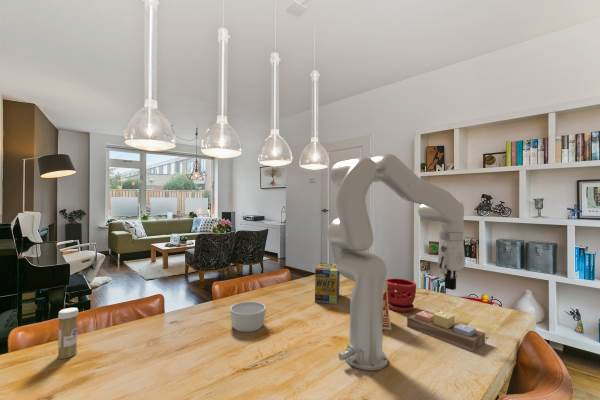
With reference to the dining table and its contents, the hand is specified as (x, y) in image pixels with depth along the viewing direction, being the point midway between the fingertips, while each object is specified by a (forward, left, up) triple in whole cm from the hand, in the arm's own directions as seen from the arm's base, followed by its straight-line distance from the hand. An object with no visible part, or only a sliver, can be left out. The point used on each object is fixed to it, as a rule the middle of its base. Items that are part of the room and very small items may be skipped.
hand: (450, 288), depth 102 cm
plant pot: (+10, +27, -17) cm, 33 cm away
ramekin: (-54, +49, -17) cm, 75 cm away
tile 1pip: (0, -5, -16) cm, 16 cm away
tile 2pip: (0, +2, -13) cm, 14 cm away
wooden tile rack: (0, +2, -17) cm, 17 cm away
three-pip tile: (0, +9, -16) cm, 18 cm away
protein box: (-8, +55, -17) cm, 58 cm away
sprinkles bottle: (-107, +61, -17) cm, 124 cm away
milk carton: (-12, +22, -17) cm, 30 cm away
